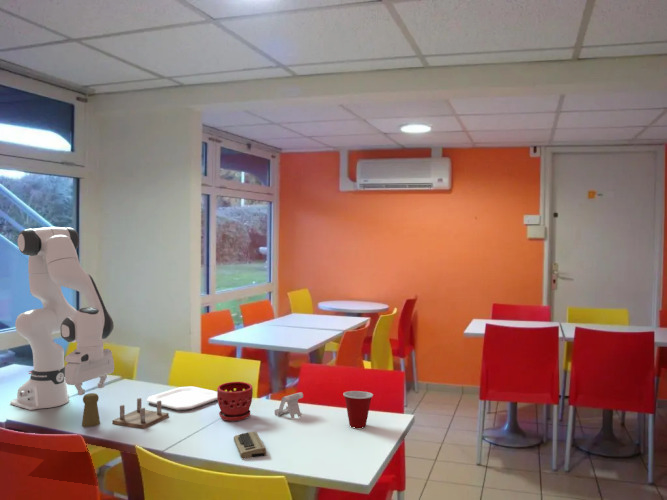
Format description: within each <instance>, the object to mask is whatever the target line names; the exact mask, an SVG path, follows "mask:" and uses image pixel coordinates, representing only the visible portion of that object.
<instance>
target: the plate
mask: <svg viewBox="0 0 667 500" xmlns="http://www.w3.org/2000/svg"><path fill="white" fill-rule="evenodd" d="M157 401H161V407H162V408H168V409H172V410H174V411H175V410H176V411H190V410H192V409H196V408H198V407H202V406H205V405H207V404H210V403H213V402H215V401H218V398H217V391H215V390H212V389H207V388H202V387H198V386H193V385H190V386H189V385H188V386H179V387H175V388H172V389H170V390H166V391H162V392H160V393H156V394H153V395H150V396H148V397H147V399H146V402H147V403H149V404H153V405H154V406H155V405H156V406H157Z"/></svg>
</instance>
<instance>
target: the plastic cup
mask: <svg viewBox="0 0 667 500" xmlns="http://www.w3.org/2000/svg"><path fill="white" fill-rule="evenodd" d="M373 396H374V394H373V393H372V392H368V391H360V390H350V391H345V392H343V397H344V400H345V401H344V402H345V405H346V411H347V417H348V423H349V427H350V426H351V427H350V428H352V427H355V428H362V427H365V426H367V423H368V422H367V420H368V417H369V410H370V406H371V405H370V404H371V402H372V398H373ZM355 428H354V429H355ZM365 428H366V427H365ZM362 429H363V428H362Z"/></svg>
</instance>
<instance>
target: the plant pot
mask: <svg viewBox="0 0 667 500" xmlns="http://www.w3.org/2000/svg"><path fill="white" fill-rule="evenodd" d="M234 389H235V390H234ZM253 389H254V387H253V385H252V384H251V383H248V382H244V381H230V382H224V383H221V384H219V385H218V386H217V398H218V399H217V404H218V408H219V409H220V410H219V412H218V415H219V417H220V418H221V419H223V420H225V421H230V422H237V421H238V422H239V421H243V420H246V419H247V418H248V417H249V416H250V415H251V410H250V408H251V405H252V402H253V391H254V390H253Z"/></svg>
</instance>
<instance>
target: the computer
mask: <svg viewBox="0 0 667 500" xmlns="http://www.w3.org/2000/svg"><path fill="white" fill-rule="evenodd" d="M233 442H234V444H235V446H236V448H237V452H238V453H239V457H240V458H243V460H244V458H245V459H252V457H253V458H258V457H266V456H267V449H266V447H265V445H264V443H263V442H262V440H261V438H260V436H259V434H258V431H249V432H245V433H240V434H235V435H234V436H233Z"/></svg>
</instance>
